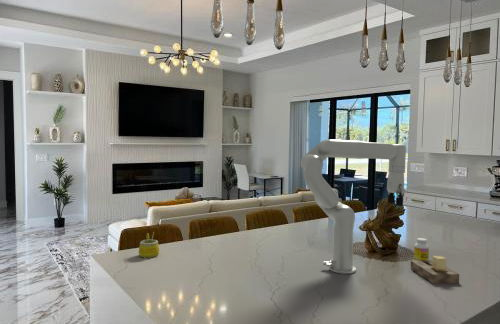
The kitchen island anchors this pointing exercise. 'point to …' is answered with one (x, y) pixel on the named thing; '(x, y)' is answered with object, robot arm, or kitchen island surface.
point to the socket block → (434, 277)
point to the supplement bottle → (421, 250)
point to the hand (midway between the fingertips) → (395, 204)
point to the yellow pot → (149, 248)
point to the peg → (439, 264)
